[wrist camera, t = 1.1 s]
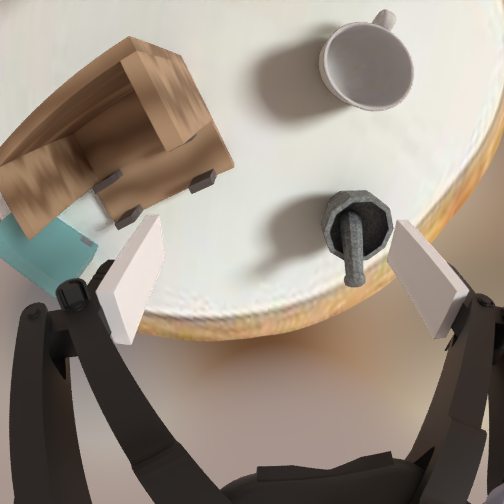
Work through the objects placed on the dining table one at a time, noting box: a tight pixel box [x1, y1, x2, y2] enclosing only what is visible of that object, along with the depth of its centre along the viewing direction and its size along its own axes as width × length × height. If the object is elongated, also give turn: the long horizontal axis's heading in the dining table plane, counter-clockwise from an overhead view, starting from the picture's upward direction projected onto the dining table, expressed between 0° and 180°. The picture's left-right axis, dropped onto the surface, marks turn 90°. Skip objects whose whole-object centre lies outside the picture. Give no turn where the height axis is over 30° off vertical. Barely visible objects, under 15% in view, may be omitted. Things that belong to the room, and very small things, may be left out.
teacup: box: [319, 10, 414, 111], centre depth 29 cm, size 14×11×8 cm
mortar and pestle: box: [321, 190, 394, 287], centre depth 39 cm, size 11×9×12 cm
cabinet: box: [0, 36, 234, 240], centre depth 30 cm, size 17×20×18 cm
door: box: [0, 213, 98, 299], centre depth 40 cm, size 5×16×12 cm, turn 53°
